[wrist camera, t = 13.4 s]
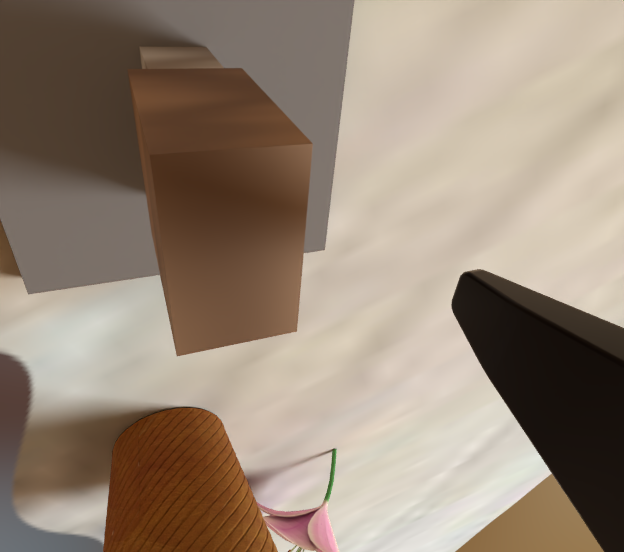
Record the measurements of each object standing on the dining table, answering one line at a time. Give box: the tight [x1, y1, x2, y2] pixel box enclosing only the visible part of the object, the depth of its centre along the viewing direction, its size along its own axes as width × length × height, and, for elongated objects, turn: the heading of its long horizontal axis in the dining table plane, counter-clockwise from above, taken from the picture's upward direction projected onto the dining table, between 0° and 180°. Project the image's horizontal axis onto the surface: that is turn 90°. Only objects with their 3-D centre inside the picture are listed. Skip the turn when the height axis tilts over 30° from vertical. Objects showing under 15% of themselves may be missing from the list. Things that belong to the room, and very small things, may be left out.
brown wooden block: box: [127, 47, 313, 356], centre depth 13 cm, size 3×5×8 cm, turn 176°
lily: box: [257, 449, 339, 552], centre depth 32 cm, size 12×12×10 cm
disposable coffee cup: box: [103, 408, 278, 552], centre depth 23 cm, size 10×10×12 cm
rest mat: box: [0, 0, 354, 294], centre depth 16 cm, size 12×12×1 cm
